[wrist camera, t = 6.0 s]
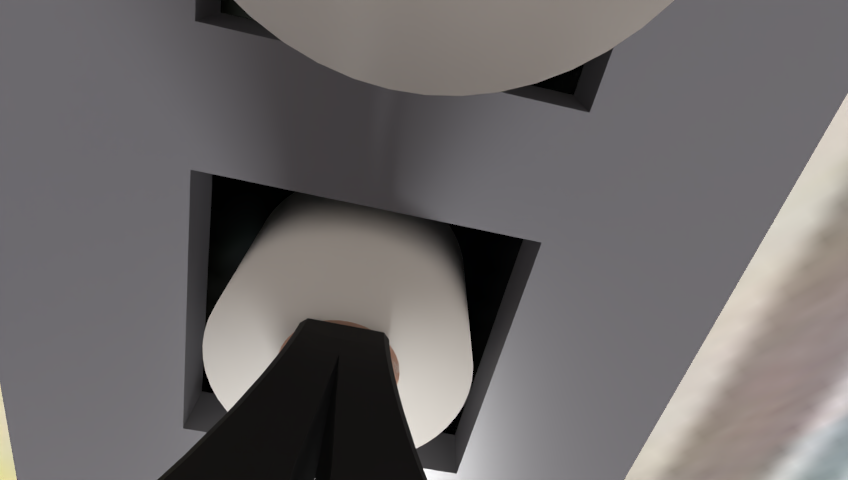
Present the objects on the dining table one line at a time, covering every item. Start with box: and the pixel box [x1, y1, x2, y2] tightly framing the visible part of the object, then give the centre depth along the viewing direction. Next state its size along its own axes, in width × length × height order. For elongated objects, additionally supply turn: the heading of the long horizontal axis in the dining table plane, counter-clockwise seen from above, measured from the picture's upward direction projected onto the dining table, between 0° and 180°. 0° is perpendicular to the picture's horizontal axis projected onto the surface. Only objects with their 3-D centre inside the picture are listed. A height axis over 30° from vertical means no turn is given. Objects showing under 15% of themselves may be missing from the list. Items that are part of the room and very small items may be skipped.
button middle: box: [202, 192, 473, 448], centre depth 11 cm, size 4×4×3 cm
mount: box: [0, 0, 848, 480], centre depth 12 cm, size 12×24×4 cm, turn 167°
